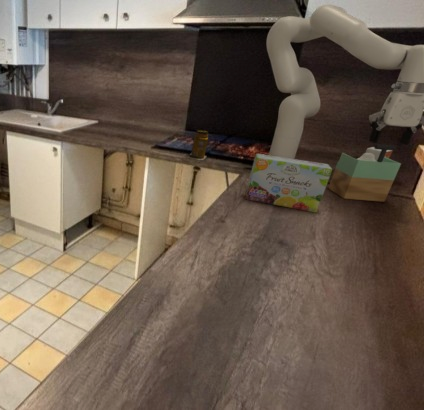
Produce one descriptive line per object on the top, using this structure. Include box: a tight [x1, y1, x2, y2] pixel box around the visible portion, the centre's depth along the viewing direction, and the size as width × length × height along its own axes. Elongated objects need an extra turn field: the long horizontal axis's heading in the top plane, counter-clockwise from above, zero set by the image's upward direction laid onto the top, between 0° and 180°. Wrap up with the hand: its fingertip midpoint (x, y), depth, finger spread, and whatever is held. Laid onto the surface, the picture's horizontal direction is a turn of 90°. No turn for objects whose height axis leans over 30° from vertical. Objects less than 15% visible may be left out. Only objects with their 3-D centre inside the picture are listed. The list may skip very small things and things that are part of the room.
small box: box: [365, 146, 394, 162], centre depth 145 cm, size 8×6×13 cm
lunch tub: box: [335, 143, 402, 181], centre depth 125 cm, size 11×14×12 cm
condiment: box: [187, 129, 209, 161], centre depth 162 cm, size 7×8×12 cm
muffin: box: [356, 152, 375, 161], centre depth 126 cm, size 6×6×7 cm
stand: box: [328, 167, 395, 203], centre depth 129 cm, size 10×14×8 cm
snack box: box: [245, 153, 333, 213], centre depth 116 cm, size 21×6×15 cm, turn 68°
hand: (388, 142), depth 118 cm, fingers open, 9 cm apart
